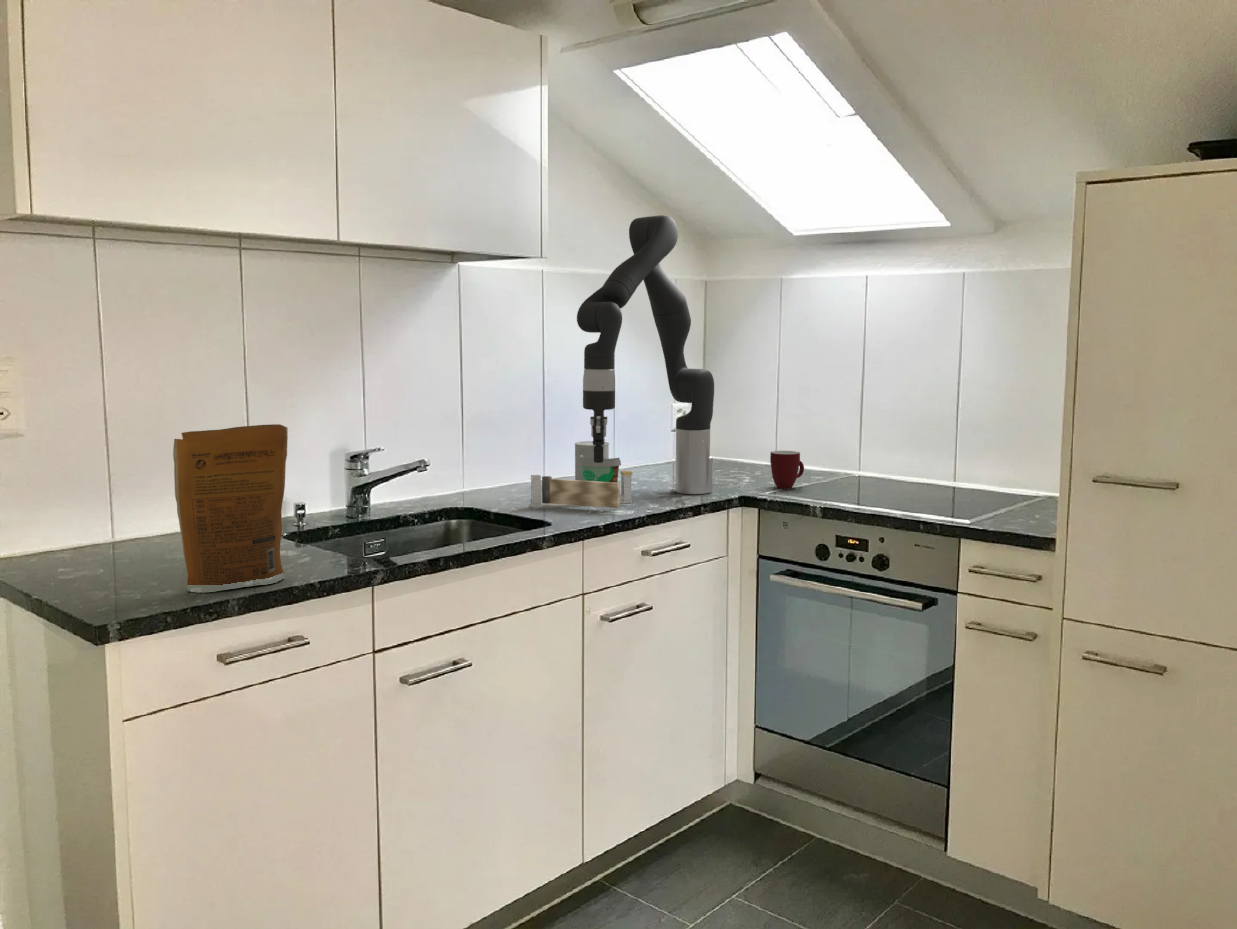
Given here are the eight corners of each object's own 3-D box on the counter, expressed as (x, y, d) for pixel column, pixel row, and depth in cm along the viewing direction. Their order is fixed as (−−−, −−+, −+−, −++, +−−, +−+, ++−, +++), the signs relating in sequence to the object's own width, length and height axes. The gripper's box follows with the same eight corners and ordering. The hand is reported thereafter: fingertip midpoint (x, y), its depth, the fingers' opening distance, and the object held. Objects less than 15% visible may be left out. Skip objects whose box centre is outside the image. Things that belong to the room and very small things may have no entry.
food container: (569, 494, 267) (569, 457, 265) (581, 491, 272) (580, 454, 270) (610, 498, 261) (610, 460, 259) (621, 494, 266) (621, 457, 265)
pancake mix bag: (299, 583, 175) (292, 424, 171) (183, 600, 165) (172, 430, 161) (289, 575, 181) (282, 421, 177) (175, 590, 170) (165, 427, 166)
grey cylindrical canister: (577, 484, 284) (577, 441, 282) (610, 484, 283) (610, 441, 281) (572, 489, 274) (572, 445, 273) (607, 490, 273) (607, 445, 272)
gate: (540, 503, 248) (540, 477, 247) (544, 501, 250) (544, 475, 249) (617, 508, 241) (617, 481, 240) (620, 506, 243) (620, 480, 242)
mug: (789, 484, 284) (790, 449, 283) (811, 487, 278) (812, 452, 277) (763, 487, 278) (764, 452, 276) (785, 491, 272) (786, 455, 270)
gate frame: (533, 509, 245) (533, 476, 244) (529, 506, 249) (529, 474, 248) (633, 502, 254) (633, 471, 253) (627, 500, 258) (628, 469, 257)
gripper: (614, 390, 226) (614, 466, 228) (615, 387, 239) (614, 458, 242) (581, 390, 226) (581, 466, 228) (584, 386, 239) (583, 458, 242)
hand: (598, 462), depth 235 cm, fingers closed
